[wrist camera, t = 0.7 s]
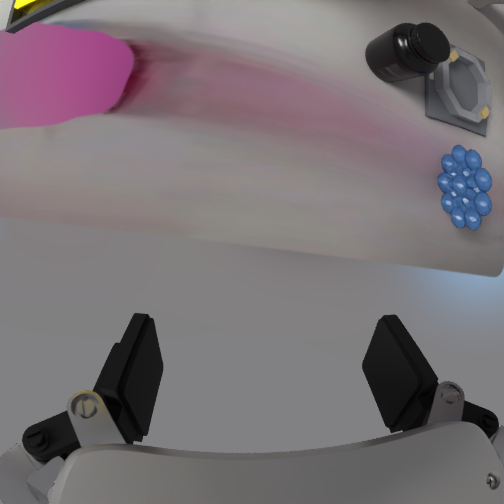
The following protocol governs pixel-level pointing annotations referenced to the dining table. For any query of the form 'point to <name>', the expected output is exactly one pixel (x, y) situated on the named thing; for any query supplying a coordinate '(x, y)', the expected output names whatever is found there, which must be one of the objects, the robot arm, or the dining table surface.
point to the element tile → (30, 5)
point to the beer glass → (484, 3)
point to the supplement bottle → (407, 52)
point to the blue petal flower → (465, 187)
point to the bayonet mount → (459, 92)
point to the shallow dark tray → (35, 14)
